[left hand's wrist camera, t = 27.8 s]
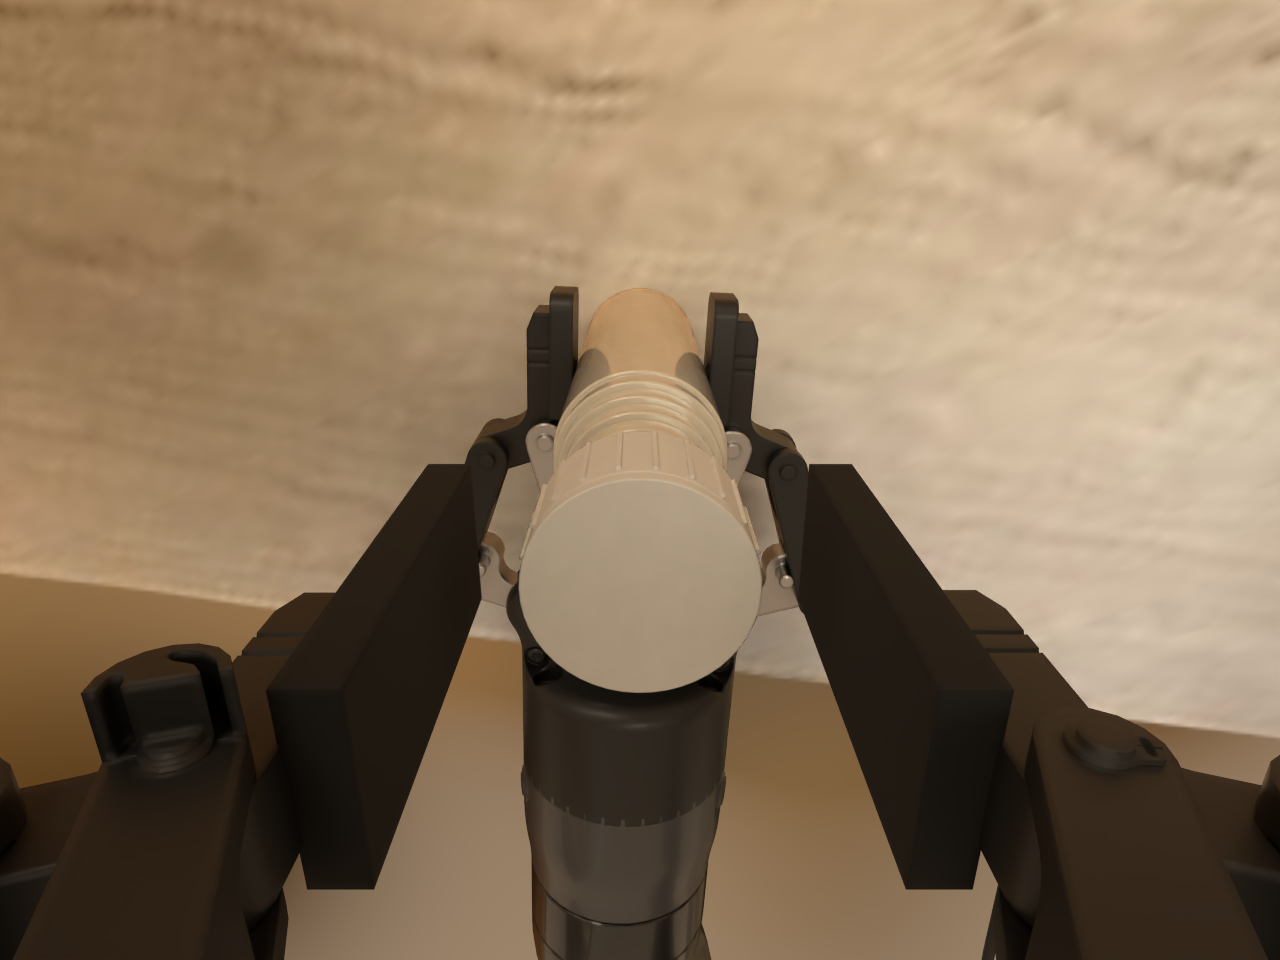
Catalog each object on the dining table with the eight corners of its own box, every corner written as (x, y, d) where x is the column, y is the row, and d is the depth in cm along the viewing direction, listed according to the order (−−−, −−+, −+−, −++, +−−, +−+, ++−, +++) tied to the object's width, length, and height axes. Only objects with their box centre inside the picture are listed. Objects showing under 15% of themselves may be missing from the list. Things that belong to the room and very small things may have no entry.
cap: (549, 630, 15) (535, 705, 13) (517, 438, 14) (494, 488, 12) (752, 612, 15) (770, 686, 13) (740, 417, 14) (759, 463, 12)
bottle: (581, 383, 31) (505, 655, 14) (595, 279, 30) (532, 435, 12) (682, 399, 32) (735, 687, 14) (701, 297, 30) (787, 475, 12)
